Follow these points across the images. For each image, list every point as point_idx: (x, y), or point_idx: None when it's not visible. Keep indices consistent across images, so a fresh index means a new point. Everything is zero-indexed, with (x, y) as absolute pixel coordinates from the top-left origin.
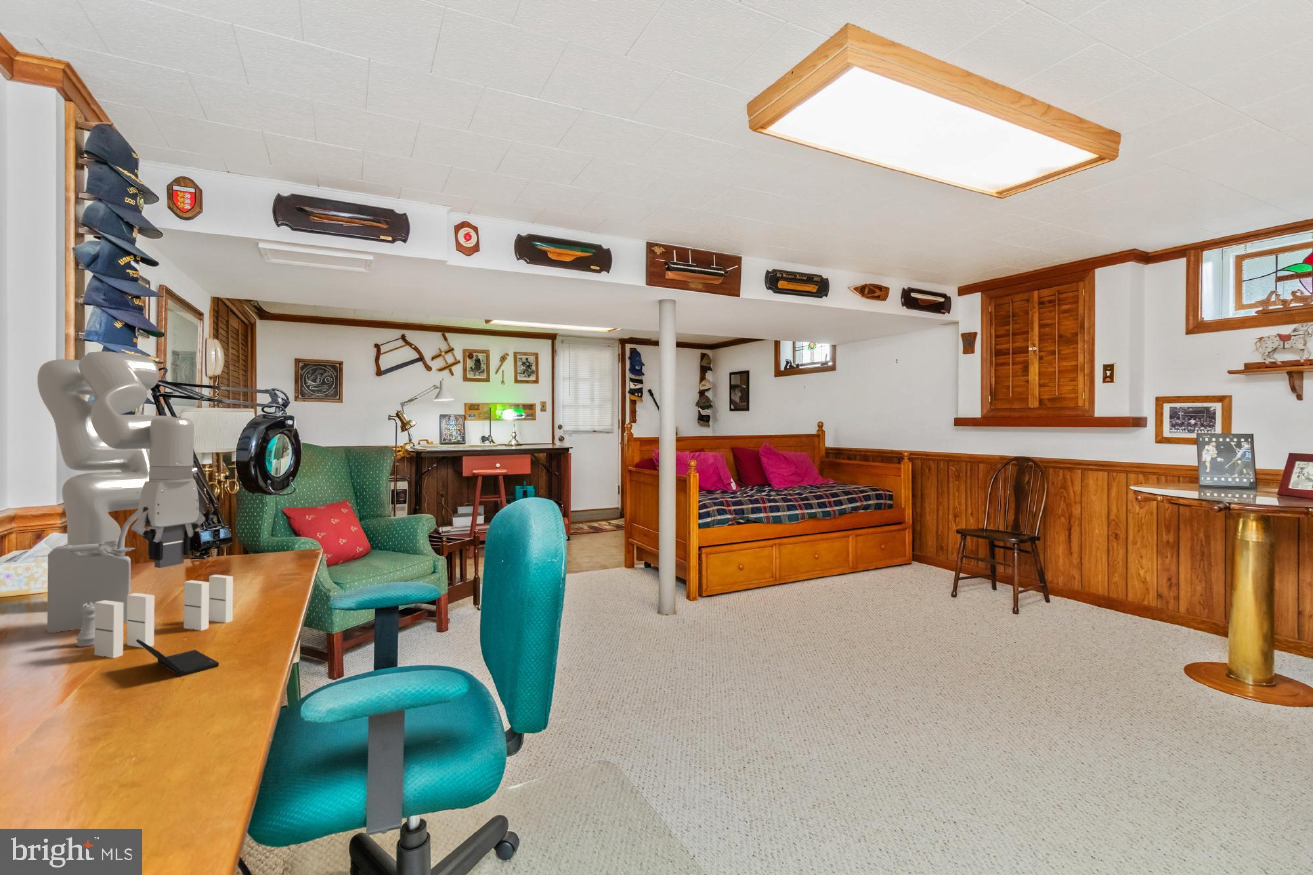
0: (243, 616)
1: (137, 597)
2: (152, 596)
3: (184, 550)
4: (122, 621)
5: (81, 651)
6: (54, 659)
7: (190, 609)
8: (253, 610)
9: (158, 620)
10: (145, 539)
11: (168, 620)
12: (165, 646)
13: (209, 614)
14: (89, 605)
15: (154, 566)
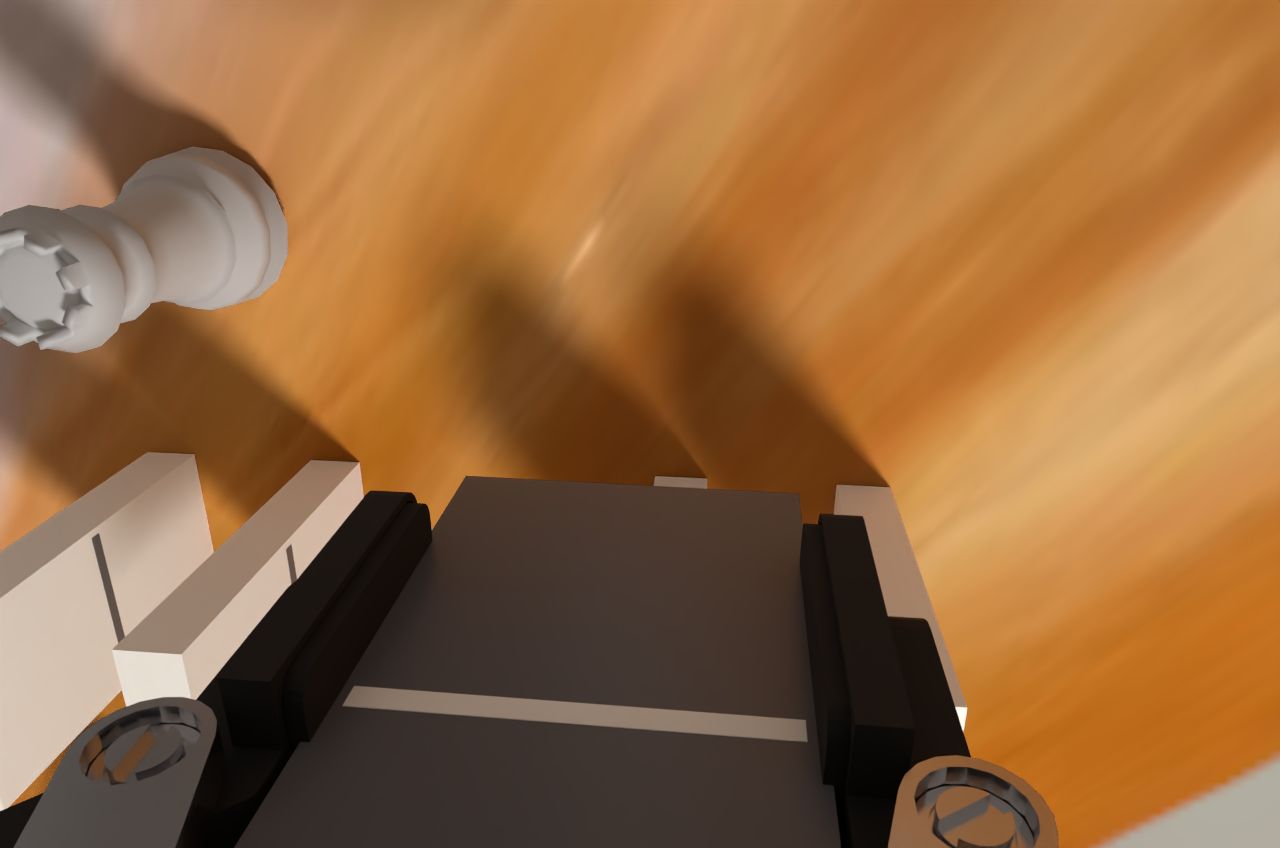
0: (977, 616)
1: None
2: None
3: None
4: (94, 713)
5: (133, 325)
6: (3, 323)
7: None
8: (1129, 569)
9: (732, 129)
10: (90, 738)
11: (755, 207)
12: None
13: (839, 512)
14: (18, 288)
15: (464, 478)
